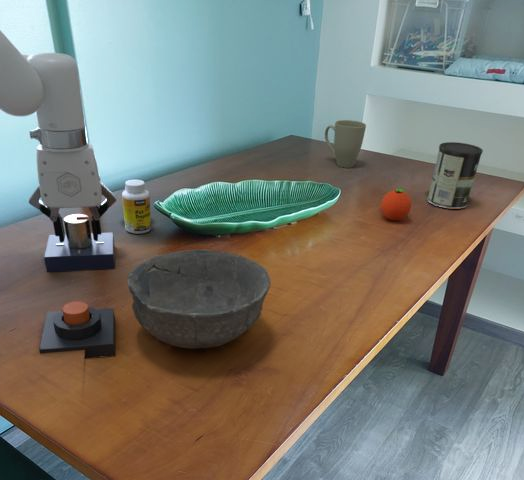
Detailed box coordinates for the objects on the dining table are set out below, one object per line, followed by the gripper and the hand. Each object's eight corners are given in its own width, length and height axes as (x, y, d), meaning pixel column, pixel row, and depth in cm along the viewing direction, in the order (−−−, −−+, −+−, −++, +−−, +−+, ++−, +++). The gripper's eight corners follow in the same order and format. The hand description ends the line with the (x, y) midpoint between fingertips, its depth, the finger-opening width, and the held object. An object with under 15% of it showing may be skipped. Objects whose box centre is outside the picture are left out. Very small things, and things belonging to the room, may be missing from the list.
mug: (355, 160, 167) (362, 120, 160) (362, 170, 159) (369, 128, 152) (321, 159, 166) (326, 118, 159) (326, 169, 158) (331, 126, 151)
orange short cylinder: (63, 327, 77) (61, 314, 75) (65, 314, 79) (63, 302, 78) (89, 325, 77) (87, 313, 76) (90, 312, 80) (88, 300, 79)
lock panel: (46, 272, 97) (43, 256, 95) (51, 248, 105) (49, 233, 103) (114, 268, 100) (113, 253, 98) (114, 246, 108) (113, 231, 106)
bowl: (265, 302, 92) (268, 249, 87) (268, 376, 76) (273, 316, 70) (144, 298, 91) (139, 244, 86) (120, 372, 75) (113, 311, 69)
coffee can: (464, 198, 143) (479, 144, 135) (469, 212, 135) (486, 154, 126) (425, 194, 144) (437, 140, 136) (428, 207, 136) (441, 150, 128)
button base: (42, 362, 75) (36, 338, 73) (48, 324, 83) (44, 302, 81) (115, 356, 78) (112, 333, 75) (114, 319, 85) (112, 298, 83)
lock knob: (67, 249, 98) (62, 221, 95) (68, 239, 102) (64, 212, 99) (92, 248, 99) (88, 221, 96) (92, 238, 103) (89, 212, 100)
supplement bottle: (136, 237, 112) (132, 188, 106) (120, 229, 115) (114, 181, 109) (157, 230, 115) (154, 182, 109) (140, 222, 118) (137, 176, 112)
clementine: (383, 210, 132) (389, 182, 128) (411, 216, 130) (418, 187, 126) (375, 220, 126) (380, 191, 122) (404, 227, 124) (410, 197, 120)
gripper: (5, 143, 85) (28, 249, 95) (116, 143, 88) (126, 245, 99) (12, 132, 91) (33, 232, 101) (116, 132, 94) (126, 229, 105)
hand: (79, 237), depth 100 cm, fingers open, 5 cm apart
